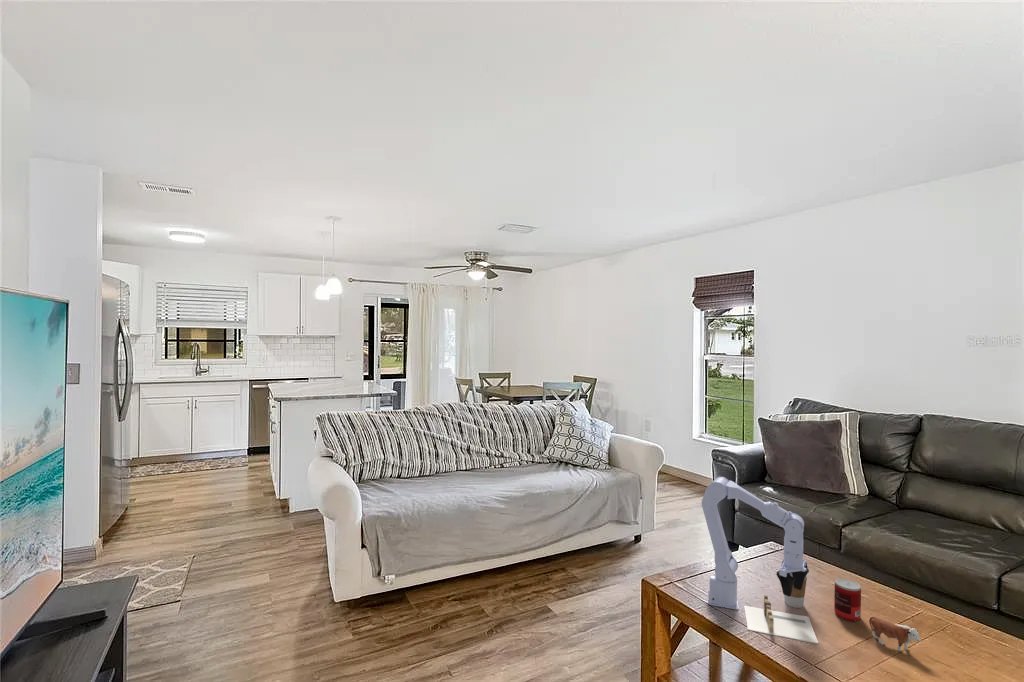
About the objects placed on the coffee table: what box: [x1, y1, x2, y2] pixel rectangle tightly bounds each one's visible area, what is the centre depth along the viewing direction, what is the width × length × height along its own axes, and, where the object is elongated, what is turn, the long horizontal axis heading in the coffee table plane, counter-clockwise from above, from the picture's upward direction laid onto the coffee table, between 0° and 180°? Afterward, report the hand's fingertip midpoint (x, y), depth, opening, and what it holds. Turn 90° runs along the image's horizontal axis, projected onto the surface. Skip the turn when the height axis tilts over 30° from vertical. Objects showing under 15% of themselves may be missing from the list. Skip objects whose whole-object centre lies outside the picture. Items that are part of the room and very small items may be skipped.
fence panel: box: [766, 605, 774, 632], centre depth 169 cm, size 10×1×4 cm, turn 160°
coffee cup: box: [780, 559, 809, 609], centre depth 184 cm, size 8×8×15 cm
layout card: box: [743, 605, 819, 645], centre depth 170 cm, size 20×16×1 cm
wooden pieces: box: [763, 594, 772, 616], centre depth 177 cm, size 2×6×5 cm, turn 159°
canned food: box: [833, 578, 862, 622], centre depth 176 cm, size 8×8×11 cm
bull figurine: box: [868, 616, 922, 652], centre depth 158 cm, size 4×13×8 cm, turn 36°
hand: (792, 591), depth 172 cm, fingers open, 7 cm apart
